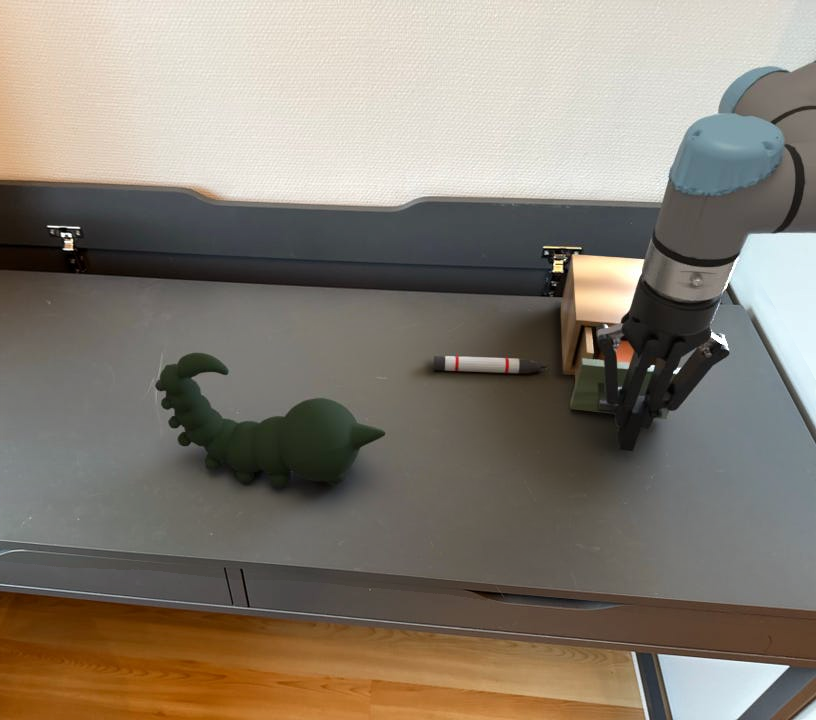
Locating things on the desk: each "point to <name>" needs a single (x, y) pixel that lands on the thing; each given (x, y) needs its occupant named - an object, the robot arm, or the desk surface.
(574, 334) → the cabinet
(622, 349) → the block
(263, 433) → the toy figurine
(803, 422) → the desk surface
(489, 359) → the marker
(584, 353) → the drawer
